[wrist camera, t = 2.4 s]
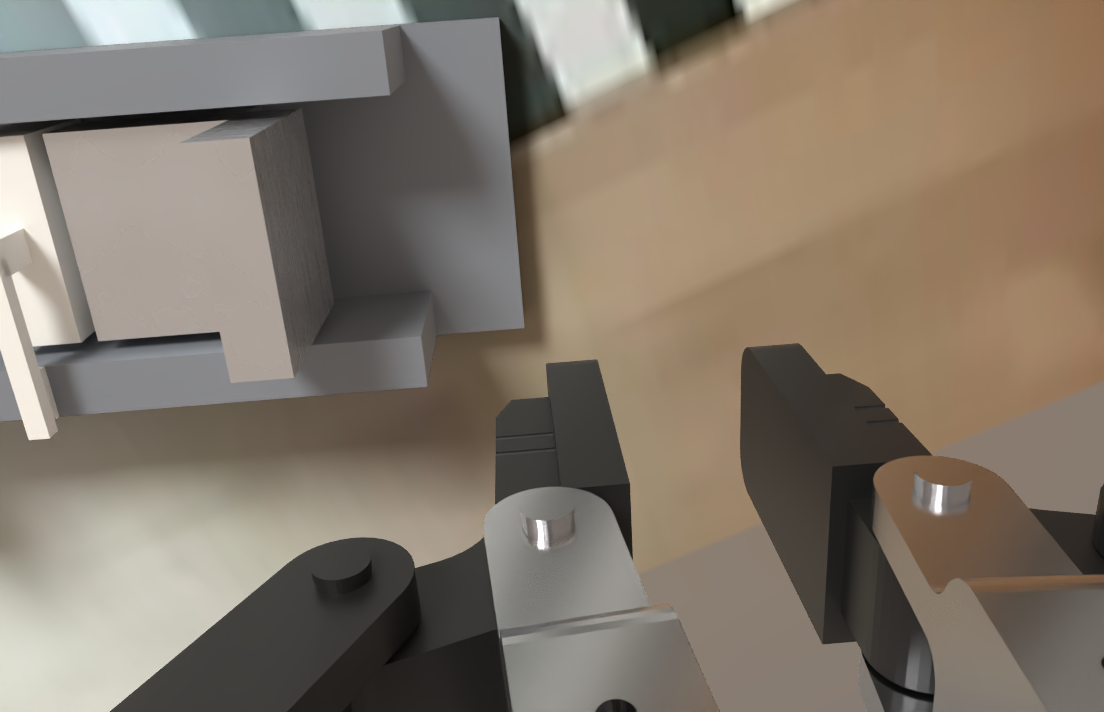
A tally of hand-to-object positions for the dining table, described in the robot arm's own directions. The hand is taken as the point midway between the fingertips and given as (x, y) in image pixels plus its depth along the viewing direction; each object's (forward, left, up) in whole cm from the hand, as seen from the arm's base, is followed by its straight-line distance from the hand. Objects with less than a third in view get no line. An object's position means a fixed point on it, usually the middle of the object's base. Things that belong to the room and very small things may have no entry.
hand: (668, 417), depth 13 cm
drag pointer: (+1, -16, -18) cm, 24 cm away
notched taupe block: (0, -11, -18) cm, 21 cm away
